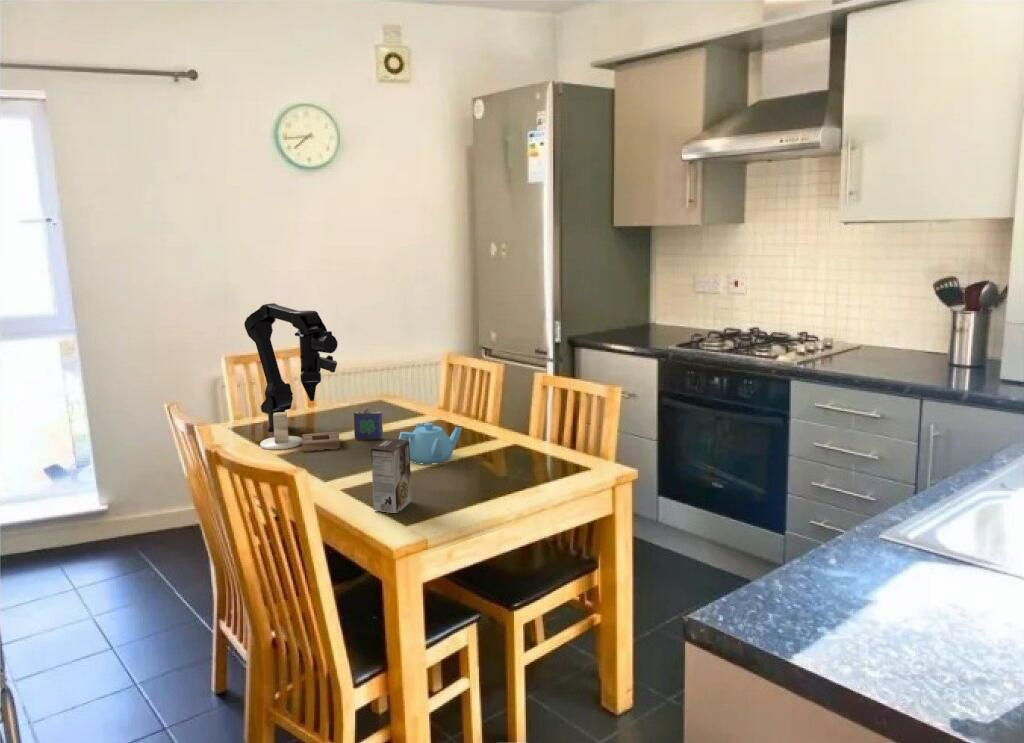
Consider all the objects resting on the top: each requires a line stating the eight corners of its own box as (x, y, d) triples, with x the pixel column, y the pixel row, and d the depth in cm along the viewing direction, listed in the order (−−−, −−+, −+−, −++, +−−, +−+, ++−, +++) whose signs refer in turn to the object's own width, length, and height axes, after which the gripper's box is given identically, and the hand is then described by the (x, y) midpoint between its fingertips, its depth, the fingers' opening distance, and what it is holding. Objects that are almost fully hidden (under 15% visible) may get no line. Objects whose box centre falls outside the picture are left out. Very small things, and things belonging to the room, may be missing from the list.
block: (275, 440, 245) (273, 412, 243) (288, 439, 246) (286, 412, 244) (274, 443, 241) (273, 415, 240) (288, 442, 242) (286, 415, 241)
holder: (302, 441, 246) (302, 434, 246) (338, 439, 249) (338, 431, 248) (302, 451, 235) (302, 443, 235) (340, 448, 238) (339, 441, 238)
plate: (261, 440, 248) (261, 437, 248) (303, 437, 252) (303, 434, 252) (259, 451, 236) (259, 448, 236) (303, 447, 239) (303, 445, 239)
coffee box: (389, 499, 194) (386, 437, 191) (412, 501, 193) (410, 439, 189) (372, 512, 186) (369, 447, 183) (396, 514, 184) (394, 449, 181)
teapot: (419, 449, 238) (418, 415, 236) (463, 453, 233) (462, 419, 230) (394, 463, 224) (392, 427, 222) (440, 468, 219) (439, 432, 216)
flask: (383, 438, 250) (382, 406, 248) (381, 440, 247) (380, 408, 245) (355, 438, 250) (354, 406, 248) (353, 440, 247) (351, 408, 245)
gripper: (336, 353, 240) (338, 402, 243) (334, 344, 258) (336, 390, 261) (299, 355, 237) (302, 405, 240) (299, 346, 255) (302, 392, 258)
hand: (312, 397), depth 250 cm, fingers open, 9 cm apart
